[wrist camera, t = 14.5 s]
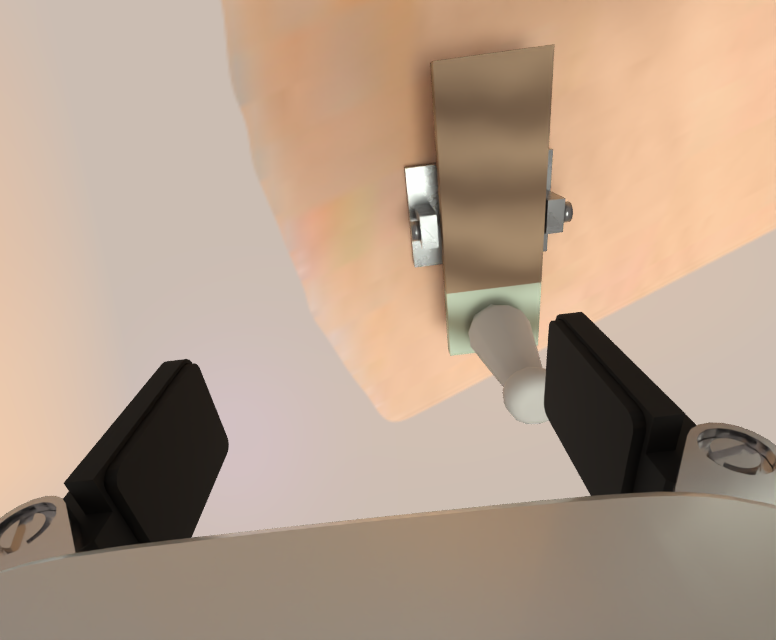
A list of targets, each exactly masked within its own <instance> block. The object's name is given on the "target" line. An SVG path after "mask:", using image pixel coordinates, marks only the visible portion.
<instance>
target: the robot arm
mask: <svg viewBox="0 0 776 640" xmlns="http://www.w3.org/2000/svg"><path fill="white" fill-rule="evenodd" d="M544 409H545V413H546V416H547V418H548V419H549V421H550V423H551V425H552V427H553V428H554V430H555V432H556V434H557V435H558V437H559V439H560V441H561V443H562V445H563V446H564V448H565V450H566V452H567V453H568V455H569V457H570V459H571V461H572V462H573V464H574V466H575V468H576V470H577V471H578V473H579V475H580V477H581V479H582V480H583V482H584V484H585V486H586V488H587V489H588V491H589V493H590V495H591V496H585V497H575V498H565V499H554V500H541V501H532V502H522V503H512V504H502V505H492V506H482V507H472V508H462V509H453V510H442V511H432V512H422V513H413V514H404V515H394V516H385V517H376V518H366V519H356V520H347V521H338V522H328V523H319V524H311V525H301V526H291V527H283V528H274V529H265V530H257V531H247V532H238V533H229V534H221V535H211V536H203V537H194V538H191V537H192V535H193V532H194V530H195V528H196V525H197V523H198V521H199V518H200V516H201V514H202V511H203V509H204V507H205V504H206V502H207V499H208V497H209V494H210V492H211V490H212V488H213V485H214V483H215V481H216V478H217V476H218V474H219V471H220V469H221V467H222V464H223V462H224V459H225V457H226V455H227V452H228V445H229V444H228V438H227V435H226V433H225V430H224V428H223V425H222V423H221V421H220V418H219V415H218V413H217V410H216V408H215V405H214V403H213V400H212V398H211V395H210V393H209V390H208V388H207V385H206V383H205V380H204V378H203V375H202V373H201V370H200V368H199V367H198V365H197V364H192V362H191V361H190V360H188V359H184V360H175V361H167V362H164V363H163V364H162V365H161V366H160V367H159V368H158V370H157V371H156V372H155V373H154V374H153V376H152V377H151V378H150V379H149V380H148V382H147V383H146V384H145V385H144V386H143V388H142V389H141V390H140V391H139V393H138V394H137V395H136V396H135V397H134V399H133V400H132V401H131V402H130V403H129V405H128V406H127V407H126V408H125V410H124V411H123V412H122V413H121V414H120V416H119V417H118V418H117V419H116V421H115V422H114V423H113V424H112V425H111V426H110V428H109V429H108V430H107V431H106V433H105V434H104V435H103V436H102V438H101V439H100V440H99V441H98V442H97V443H96V445H95V446H94V447H93V448H92V450H91V451H90V452H89V453H88V454H87V456H86V457H85V458H84V459H83V460H82V462H81V463H80V464H79V465H78V466H77V468H76V469H75V470H74V471H73V472H72V474H71V475H70V476H69V477H68V479H67V480H66V481H65V482H64V484H65V486H66V487H67V489H68V490H69V492H68V493H67V495H66V496H65V497H64V498H63V499H62V498H60V497H57V496H45V497H41V498H37V499H34V500H31V501H29V502H27V503H24V504H22V505H20V506H18V507H16V508H15V509H13V510H11V511H10V512H8V513H6V514H5V515H4V516H2V517H1V518H0V640H776V445H775V444H773V443H772V442H771V441H769V440H768V439H766V438H764V437H762V436H761V435H759V434H757V433H755V432H753V431H750V430H747V429H744V428H742V427H739V426H735V425H730V424H725V423H705V424H700V425H696V424H695V423H694V422H693V421H692V420H691V419H690V418H689V417H688V416H687V415H685V413H684V412H683V411H682V410H681V409H680V408H679V407H678V406H677V405H676V404H675V403H674V402H673V401H672V400H671V399H670V398H669V397H668V396H667V395H666V394H665V393H664V392H663V391H662V390H661V389H660V388H659V387H658V386H657V385H656V384H655V383H653V381H652V380H651V379H649V377H648V376H647V375H646V374H645V373H644V372H642V371H641V369H640V368H638V367H637V366H636V365H635V364H634V363H633V362H632V361H631V360H630V359H629V358H628V357H627V356H626V355H625V354H624V353H623V352H622V351H621V350H620V349H619V348H618V347H617V346H616V345H615V344H614V343H613V342H612V341H611V340H610V339H609V338H608V337H607V336H606V335H605V334H604V333H603V332H602V331H601V330H600V329H599V328H598V327H597V326H596V325H595V324H594V323H593V322H592V321H591V320H590V319H589V318H588V317H587V316H586V315H585V314H584V313H582V312H576V313H568V314H559V315H558V316H557V317H556V320H555V321H551V322H550V324H549V334H548V348H547V364H546V377H545V391H544Z"/></svg>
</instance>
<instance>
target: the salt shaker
mask: <svg viewBox="0 0 776 640" xmlns="http://www.w3.org/2000/svg"><path fill="white" fill-rule="evenodd" d="M468 333H469V339H470V346H471V348H472V349H473V350H474V351H475V353H476V354H477V355H478V356H479V358H480V359H481V360H482V361H483V363H484V364H485V365H486V366H487V368H488V369H489V370H490V371H491V372H492V374H493V375H494V376H495V377H496V379H497V380H498V381H499V382H500V384H501V385H502V386H503V387H504V388H503V398H504V404H505V406H506V408H507V410H508V411H509V412H510V413H511V415H512V416H513V417H514V418H515V419H516V420H518V421H520V422H523V423H525V424H540V423H543V422H546V421H549V419H548V418H547V416H546V413H545V409H544V391H545V377H546V369H543V368H542V365H541V361H540V357H539V354H538V350H537V347H536V343H535V339H534V336H533V332H532V329H531V325H530V322H529V320H528V319H527V317H526V316H525V314H524V313H523V312H522V311H521V310H519V309H516V308H514V307H512V306H509V305H493V304H490V305H488V306H487V307H485V308H484V309H483V310H481V311H480V312H478V313H477V314H475V316H474V318H473V320H472V323H471V326H470V329H469V332H468Z"/></svg>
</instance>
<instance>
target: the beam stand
mask: <svg viewBox="0 0 776 640" xmlns="http://www.w3.org/2000/svg"><path fill="white" fill-rule="evenodd" d="M552 155H553V149H549V152H548V170H547V188H546V206H545V224H544V242H543V251H547V238H548V234H551V233H559V232H563V223H564V222H570V221H571V219H572V215H573V209H572V205H571V203H570V202H565V198H564V197H561V196H559V195H557V194H555V193H553V192H551V191H550V188H551V172H552ZM405 178H406V188H407V198H408V209H409V219H410V230H411V240H412V250H413V261H414V267H422V266H430V265H438V264H443V259H442V243H441V227H440V211H439V195H438V179H437V163H434V164H426V165H419V166H411V167H405Z"/></svg>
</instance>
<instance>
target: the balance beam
mask: <svg viewBox="0 0 776 640" xmlns="http://www.w3.org/2000/svg"><path fill="white" fill-rule="evenodd" d="M553 61H554V44H553V45H546V46H538V47H531V48H524V49H517V50H509V51H502V52H495V53H488V54H481V55H473V56H466V57H459V58H452V59H445V60H437V61H432V62H431V63H430V66H431V82H432V98H433V114H434V130H435V146H436V163H437V179H438V195H439V211H440V227H441V243H442V259H443V275H444V291H445V307H446V323H447V339H448V350H449V353H450V356H452V355H460V354H469V353H475V351H474V350H473V349H472V348H471V346H470V339H469V333H468V332H469V329H470V326H471V323H472V320H473V318H474V316H475V314H477V313H478V312H480V311H481V310H483V309H484V308H485V307H487V306H488V305H490V304H493V305H509V306H512V307H514V308H516V309H519V310H521V311H522V312H523V313H524V314H525V316H526V317H527V319H528V320H529V322H530V325H531V329H532V332H533V336H534V339H535V343H536V346H537V345H538V333H539V315H540V297H541V279H542V260H543V242H544V224H545V206H546V188H547V170H548V152H549V134H550V115H551V97H552V79H553Z"/></svg>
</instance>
